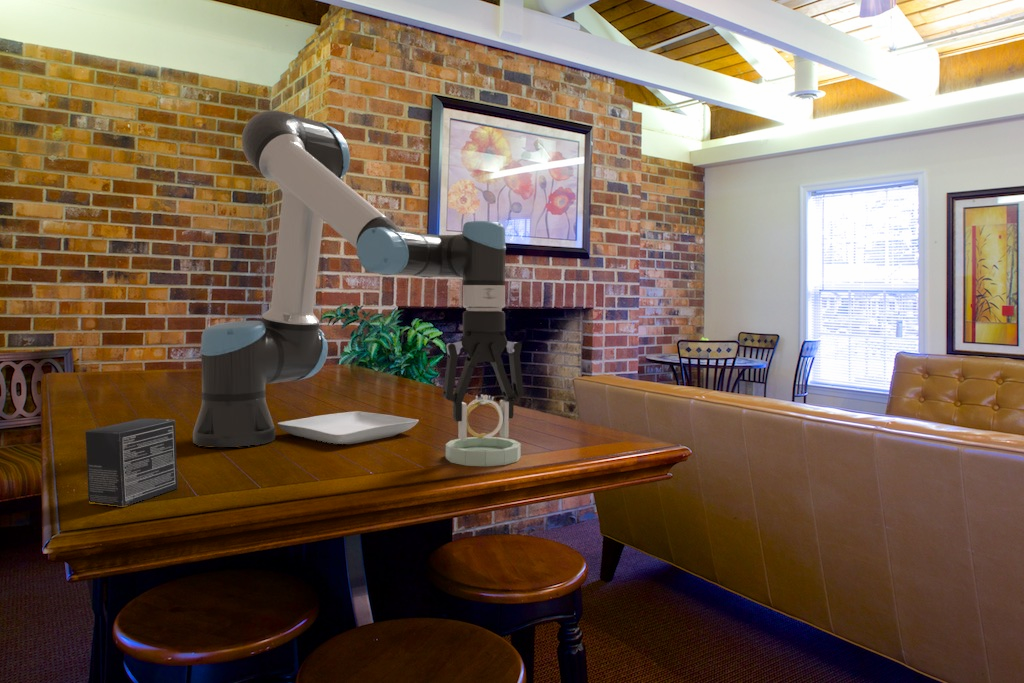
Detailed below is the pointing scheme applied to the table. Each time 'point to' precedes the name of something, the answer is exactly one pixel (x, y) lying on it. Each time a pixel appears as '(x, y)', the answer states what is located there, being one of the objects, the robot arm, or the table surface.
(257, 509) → the table surface
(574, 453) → the table surface
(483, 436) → the bracelet
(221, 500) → the table surface
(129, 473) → the small box
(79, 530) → the table surface
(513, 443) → the ring dish
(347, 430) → the salad plate
